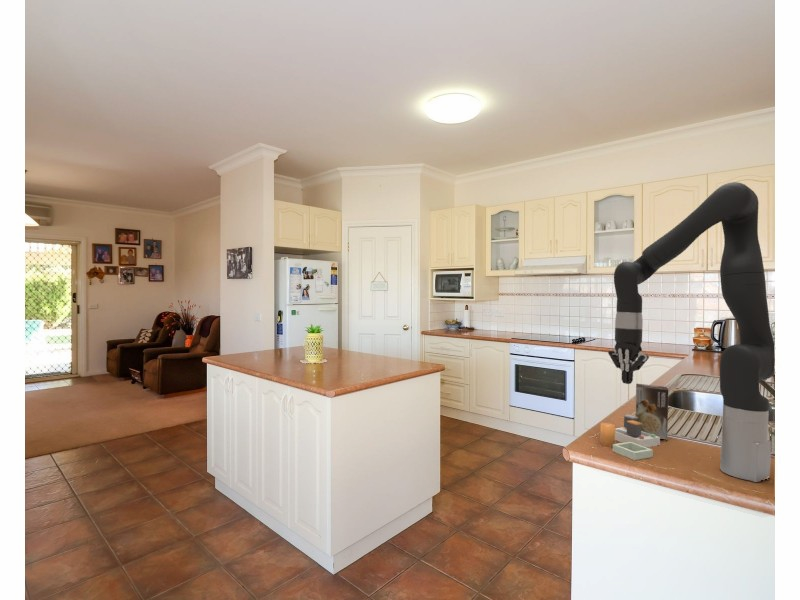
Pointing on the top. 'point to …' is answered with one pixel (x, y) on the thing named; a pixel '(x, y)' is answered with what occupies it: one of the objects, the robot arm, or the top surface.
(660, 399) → the coffee box
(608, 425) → the cap
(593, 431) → the top surface
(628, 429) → the tagged breaker
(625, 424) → the block
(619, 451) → the pale green square frame
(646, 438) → the box
